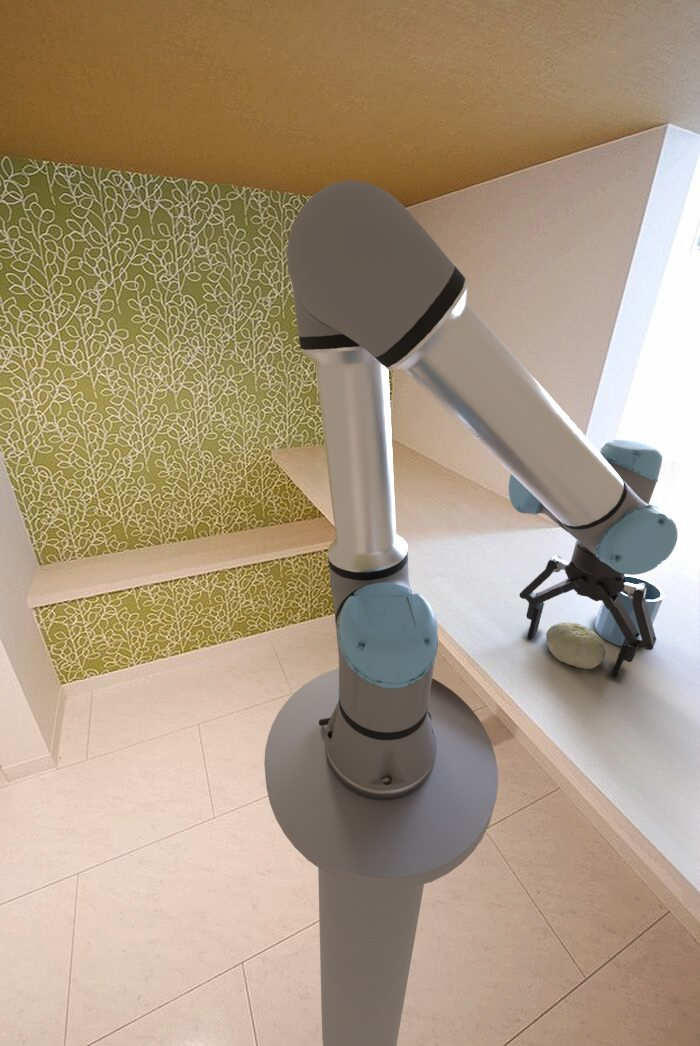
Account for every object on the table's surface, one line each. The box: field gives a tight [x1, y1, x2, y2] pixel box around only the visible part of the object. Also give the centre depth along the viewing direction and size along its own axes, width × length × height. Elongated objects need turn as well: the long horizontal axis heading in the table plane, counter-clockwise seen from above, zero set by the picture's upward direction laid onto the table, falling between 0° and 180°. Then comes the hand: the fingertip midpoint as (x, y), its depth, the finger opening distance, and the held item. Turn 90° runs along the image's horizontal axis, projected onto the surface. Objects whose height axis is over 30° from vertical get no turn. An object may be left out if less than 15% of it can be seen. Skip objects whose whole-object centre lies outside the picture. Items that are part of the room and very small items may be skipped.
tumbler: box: [594, 574, 665, 647], centre depth 78 cm, size 8×8×10 cm
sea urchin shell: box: [545, 621, 607, 670], centre depth 74 cm, size 9×8×8 cm
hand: (571, 652), depth 75 cm, fingers open, 13 cm apart
